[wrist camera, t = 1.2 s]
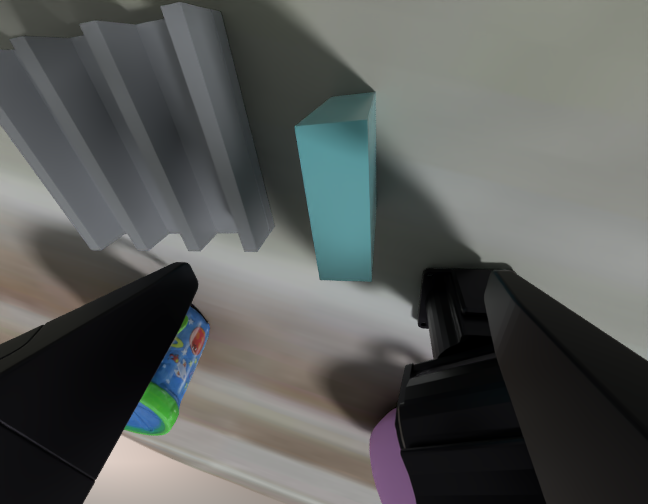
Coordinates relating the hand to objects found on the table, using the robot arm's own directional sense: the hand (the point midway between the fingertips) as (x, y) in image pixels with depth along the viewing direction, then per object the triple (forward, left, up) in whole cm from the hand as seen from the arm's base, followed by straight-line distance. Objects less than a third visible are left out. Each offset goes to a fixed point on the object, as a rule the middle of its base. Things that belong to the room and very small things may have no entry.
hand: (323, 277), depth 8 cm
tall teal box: (0, 0, -12) cm, 12 cm away
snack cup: (-17, +21, -12) cm, 30 cm away
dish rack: (+2, +14, -12) cm, 18 cm away
